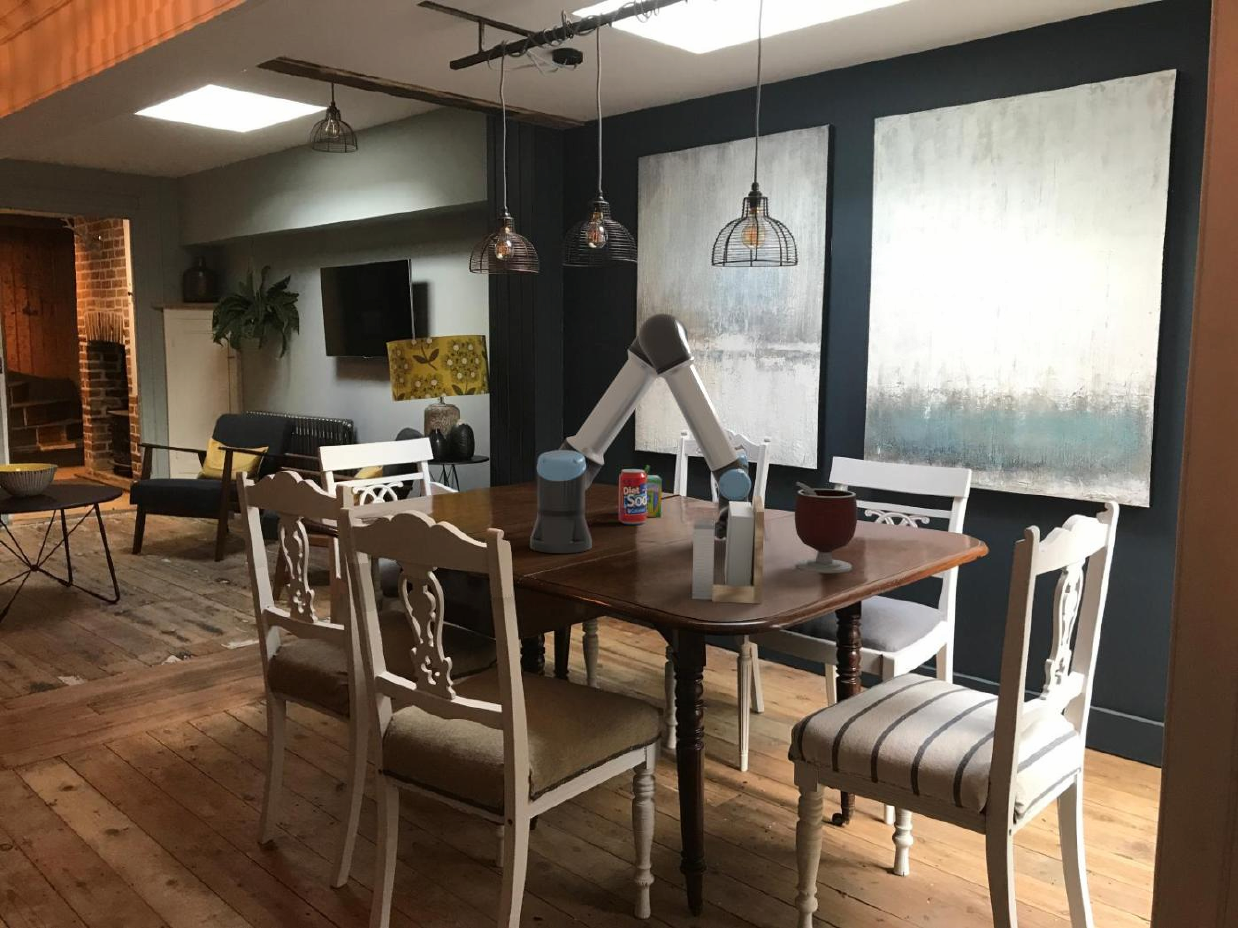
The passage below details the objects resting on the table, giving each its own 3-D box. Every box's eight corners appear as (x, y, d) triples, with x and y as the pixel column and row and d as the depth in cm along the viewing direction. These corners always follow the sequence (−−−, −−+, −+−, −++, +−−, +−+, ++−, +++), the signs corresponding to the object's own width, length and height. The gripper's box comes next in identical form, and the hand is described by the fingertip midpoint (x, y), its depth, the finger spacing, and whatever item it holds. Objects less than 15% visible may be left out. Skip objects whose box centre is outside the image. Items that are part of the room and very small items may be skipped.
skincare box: (753, 594, 201) (755, 516, 199) (725, 593, 202) (727, 515, 200) (749, 571, 222) (750, 500, 220) (724, 570, 222) (726, 500, 221)
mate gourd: (827, 558, 237) (830, 474, 235) (868, 570, 225) (871, 482, 222) (775, 564, 230) (777, 478, 227) (813, 576, 217) (817, 486, 215)
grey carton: (692, 598, 197) (693, 524, 195) (693, 589, 205) (695, 518, 203) (712, 599, 197) (714, 525, 195) (713, 589, 205) (715, 518, 203)
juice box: (626, 512, 299) (626, 463, 298) (656, 512, 300) (657, 463, 299) (630, 517, 290) (631, 467, 288) (661, 517, 291) (662, 467, 290)
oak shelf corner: (712, 601, 195) (714, 510, 193) (714, 576, 217) (716, 494, 215) (761, 603, 194) (764, 511, 192) (758, 577, 216) (760, 495, 214)
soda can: (630, 519, 287) (631, 467, 285) (652, 522, 282) (652, 470, 281) (612, 523, 281) (613, 470, 279) (634, 526, 276) (635, 472, 274)
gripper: (759, 537, 245) (763, 557, 221) (706, 536, 246) (704, 555, 223) (760, 507, 244) (764, 524, 221) (707, 506, 245) (705, 522, 222)
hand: (734, 540), depth 222 cm, fingers closed
